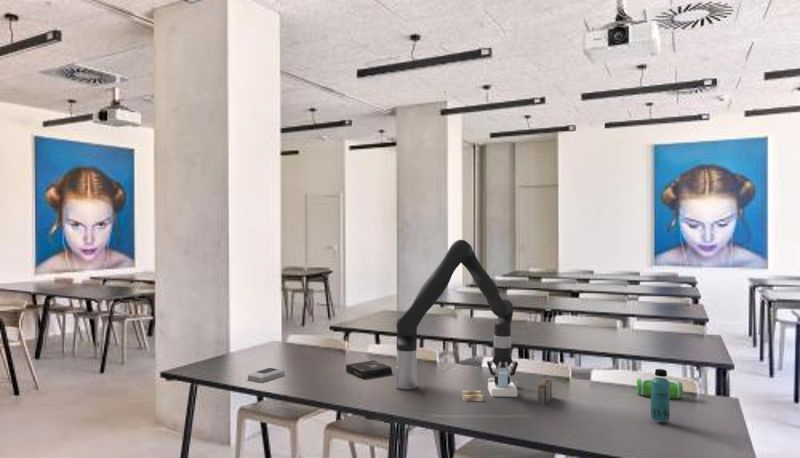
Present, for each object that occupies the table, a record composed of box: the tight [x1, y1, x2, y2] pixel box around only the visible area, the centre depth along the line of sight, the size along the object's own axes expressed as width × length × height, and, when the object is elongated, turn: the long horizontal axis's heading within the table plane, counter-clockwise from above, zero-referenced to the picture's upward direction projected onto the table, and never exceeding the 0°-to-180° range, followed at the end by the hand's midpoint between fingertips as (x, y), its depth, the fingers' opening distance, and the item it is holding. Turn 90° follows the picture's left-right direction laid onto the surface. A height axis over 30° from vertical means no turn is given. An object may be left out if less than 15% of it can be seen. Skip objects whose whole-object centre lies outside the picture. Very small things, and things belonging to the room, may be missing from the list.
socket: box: [487, 381, 518, 398], centre depth 245 cm, size 11×11×4 cm
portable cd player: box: [345, 359, 393, 380], centre depth 282 cm, size 16×17×4 cm
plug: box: [497, 368, 508, 388], centre depth 245 cm, size 4×4×10 cm
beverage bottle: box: [650, 368, 671, 422], centre depth 211 cm, size 6×7×20 cm
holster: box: [461, 390, 484, 402], centre depth 238 cm, size 8×8×3 cm
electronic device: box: [487, 365, 519, 389], centre depth 260 cm, size 5×10×15 cm
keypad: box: [247, 366, 286, 384], centre depth 272 cm, size 10×4×15 cm
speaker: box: [636, 377, 684, 399], centre depth 244 cm, size 18×7×8 cm, turn 71°
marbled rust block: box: [537, 379, 553, 405], centre depth 238 cm, size 11×3×10 cm, turn 150°
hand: (502, 384), depth 245 cm, fingers closed on plug, 4 cm apart
